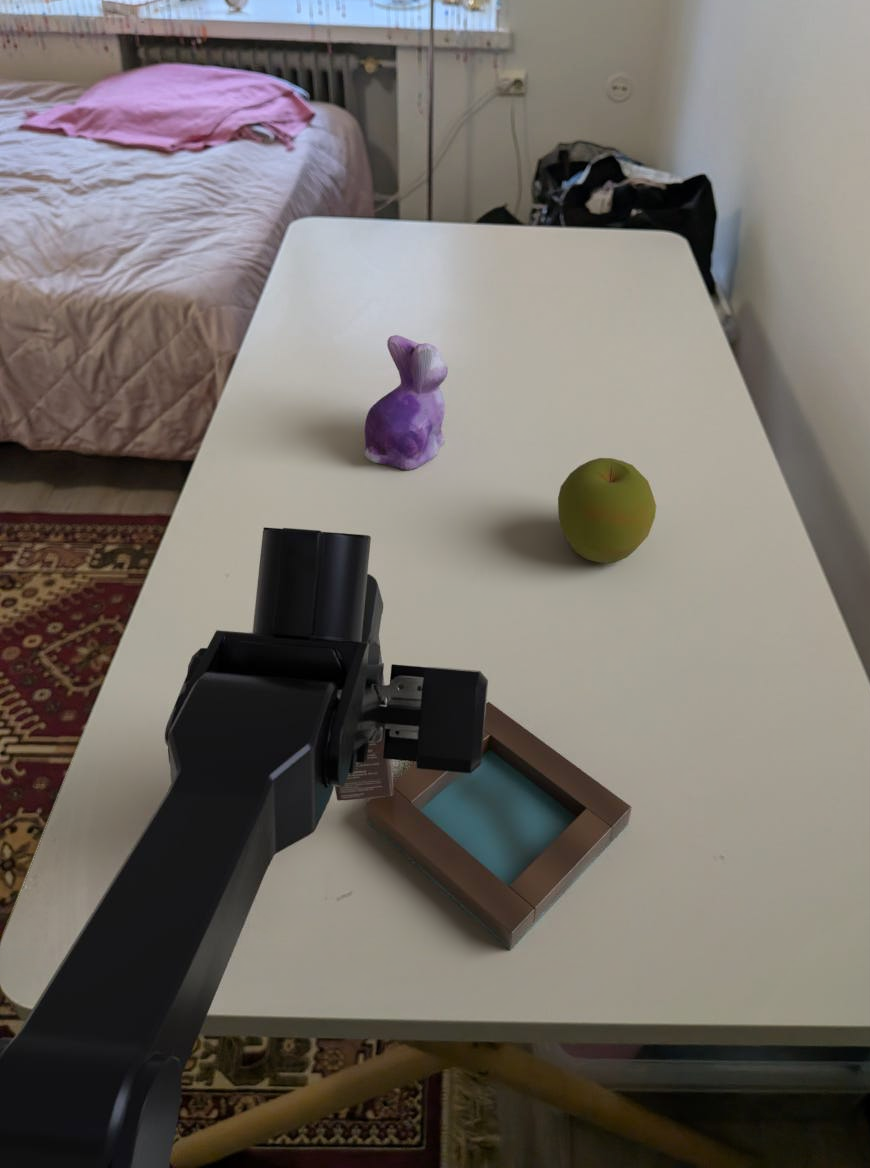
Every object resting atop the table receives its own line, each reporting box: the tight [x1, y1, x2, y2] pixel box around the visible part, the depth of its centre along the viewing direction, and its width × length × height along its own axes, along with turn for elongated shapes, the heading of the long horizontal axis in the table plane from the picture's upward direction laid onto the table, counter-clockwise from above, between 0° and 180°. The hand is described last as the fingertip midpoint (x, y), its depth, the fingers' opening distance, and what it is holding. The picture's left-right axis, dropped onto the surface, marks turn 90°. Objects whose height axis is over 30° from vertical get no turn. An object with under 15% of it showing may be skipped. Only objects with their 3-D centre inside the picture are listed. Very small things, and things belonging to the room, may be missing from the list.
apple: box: [557, 457, 657, 564], centre depth 97 cm, size 10×10×11 cm
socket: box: [365, 701, 632, 951], centre depth 74 cm, size 14×15×2 cm
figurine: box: [364, 334, 449, 471], centre depth 109 cm, size 9×10×15 cm
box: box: [334, 636, 394, 801], centre depth 68 cm, size 6×4×12 cm
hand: (359, 699), depth 68 cm, fingers closed on box, 5 cm apart
